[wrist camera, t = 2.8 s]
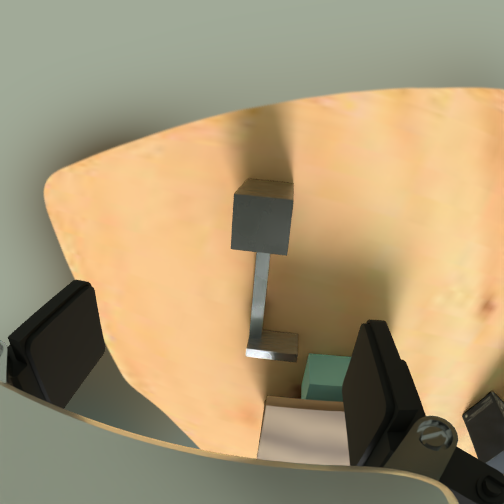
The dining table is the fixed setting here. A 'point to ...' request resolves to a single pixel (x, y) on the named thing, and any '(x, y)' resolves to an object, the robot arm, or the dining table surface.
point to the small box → (487, 430)
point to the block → (324, 377)
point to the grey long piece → (264, 256)
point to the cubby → (303, 432)
